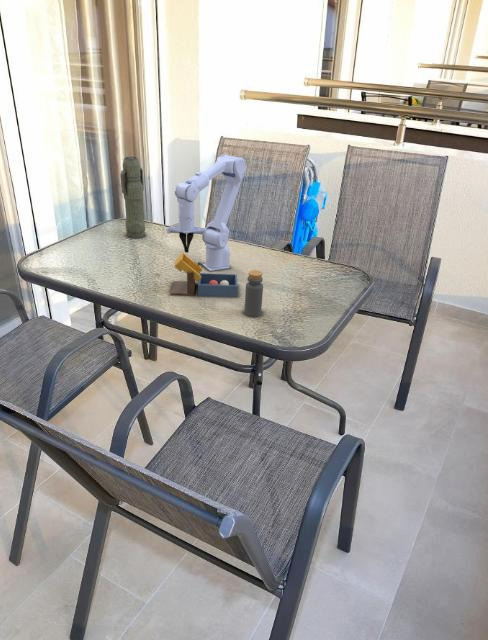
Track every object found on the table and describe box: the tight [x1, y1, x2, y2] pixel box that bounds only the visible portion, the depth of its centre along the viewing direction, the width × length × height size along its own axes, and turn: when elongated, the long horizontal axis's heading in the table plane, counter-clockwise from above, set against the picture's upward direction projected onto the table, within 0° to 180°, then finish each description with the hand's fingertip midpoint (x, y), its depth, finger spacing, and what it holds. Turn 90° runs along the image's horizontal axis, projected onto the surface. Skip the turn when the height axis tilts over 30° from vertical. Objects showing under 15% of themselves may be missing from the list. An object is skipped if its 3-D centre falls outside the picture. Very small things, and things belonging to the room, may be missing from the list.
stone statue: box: [119, 156, 146, 239], centre depth 232 cm, size 9×12×35 cm
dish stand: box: [170, 261, 196, 297], centre depth 188 cm, size 8×11×9 cm
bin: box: [197, 272, 239, 298], centre depth 190 cm, size 14×11×4 cm
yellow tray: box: [173, 251, 204, 283], centre depth 189 cm, size 10×15×4 cm
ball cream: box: [220, 280, 229, 285], centre depth 190 cm, size 4×4×4 cm
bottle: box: [244, 269, 264, 317], centre depth 172 cm, size 6×6×15 cm
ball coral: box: [209, 280, 218, 285], centre depth 190 cm, size 4×4×4 cm
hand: (186, 251), depth 195 cm, fingers closed
